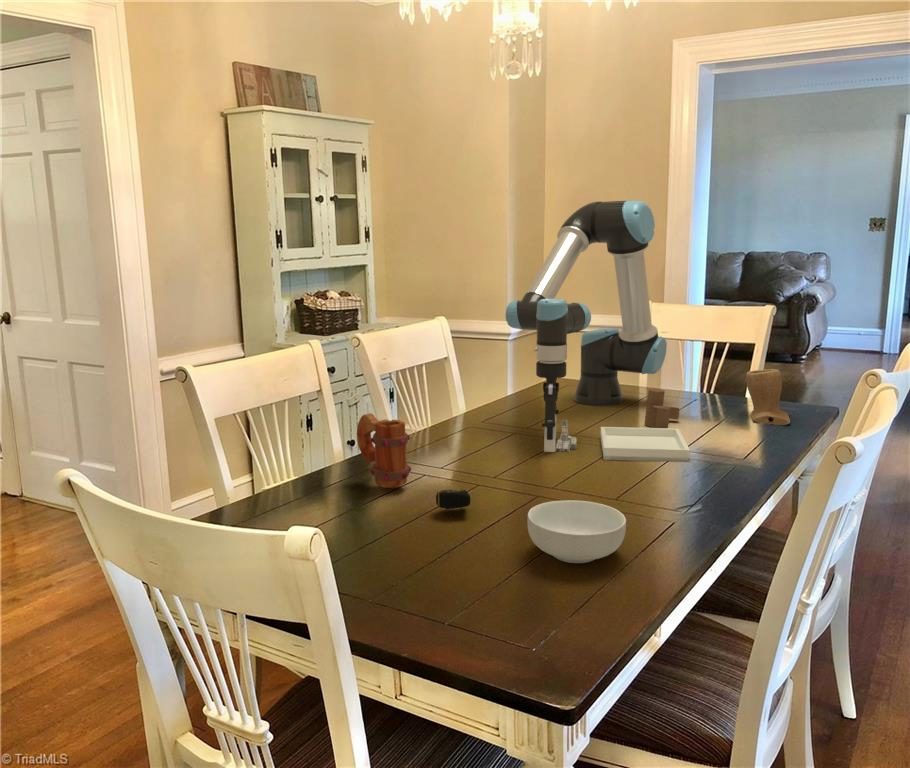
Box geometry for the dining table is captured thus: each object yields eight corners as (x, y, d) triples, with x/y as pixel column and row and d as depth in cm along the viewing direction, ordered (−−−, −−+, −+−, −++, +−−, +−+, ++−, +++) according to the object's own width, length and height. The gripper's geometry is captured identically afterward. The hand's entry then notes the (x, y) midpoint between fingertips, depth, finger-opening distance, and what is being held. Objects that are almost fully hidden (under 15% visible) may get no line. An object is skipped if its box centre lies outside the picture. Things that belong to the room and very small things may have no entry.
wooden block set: (673, 438, 207) (678, 400, 205) (639, 433, 210) (644, 396, 207) (678, 423, 223) (682, 388, 221) (647, 419, 226) (651, 384, 224)
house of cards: (588, 456, 192) (588, 426, 191) (552, 454, 195) (553, 424, 193) (591, 446, 201) (592, 417, 199) (557, 444, 203) (558, 415, 202)
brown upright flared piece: (743, 414, 231) (746, 364, 228) (786, 416, 228) (790, 366, 225) (743, 426, 217) (746, 373, 214) (790, 429, 214) (794, 375, 211)
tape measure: (471, 510, 153) (470, 491, 153) (436, 512, 152) (435, 493, 153) (470, 506, 159) (469, 488, 160) (436, 508, 159) (435, 489, 159)
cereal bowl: (641, 569, 129) (643, 529, 127) (545, 580, 125) (545, 538, 124) (601, 531, 145) (602, 494, 144) (515, 539, 142) (515, 502, 140)
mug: (419, 484, 172) (418, 418, 169) (392, 494, 166) (390, 425, 163) (375, 471, 182) (373, 408, 179) (348, 479, 176) (345, 414, 173)
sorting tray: (600, 437, 208) (600, 426, 207) (678, 439, 205) (678, 428, 204) (603, 459, 188) (603, 447, 188) (689, 462, 186) (689, 450, 185)
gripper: (538, 353, 209) (537, 432, 213) (534, 369, 186) (533, 457, 190) (566, 353, 208) (565, 433, 212) (566, 369, 185) (564, 458, 189)
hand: (550, 444), depth 201 cm, fingers open, 11 cm apart
